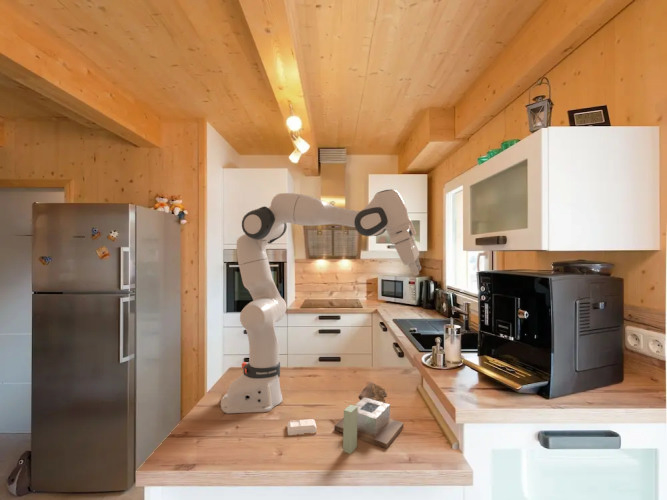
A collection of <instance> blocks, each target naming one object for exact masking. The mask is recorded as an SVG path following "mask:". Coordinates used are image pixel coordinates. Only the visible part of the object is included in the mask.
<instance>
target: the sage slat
mask: <svg viewBox="0 0 667 500" xmlns="http://www.w3.org/2000/svg"><path fill="white" fill-rule="evenodd" d="M357 415H358V407H357V406H355V404H354V405H353V404H349V405H348V406H347V407H346V408H345V409H343V418H344V425H343V433H342V434H343V435H342V452H343V453H347V454H349V455H351V454H352V453H353V452H354V451H355V449H357V447H358V438H357Z"/></svg>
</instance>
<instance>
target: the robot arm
mask: <svg viewBox="0 0 667 500" xmlns="http://www.w3.org/2000/svg"><path fill="white" fill-rule="evenodd" d="M287 223H288V224H294V225H299V226H303V227H306V226H307V227H315V226H316V227H317V226H325V225H340V226H346V227H349V228H355V230H356V231H357V233H359V234H360V235H361V236H365V237H378V236H380V235H382V234H384V233H385V232H387V236H388V237H389V241H390V242H391V245H394V248H395V250H396V252H397V254H398V256H399V258H400V260H401V262H402V264H404V266H408V268H409V269H410V270H411V272H412V275H413V276H415V277H416V276H418V275H419V274H420V271H421V270H422V266H421V264H420V259H419V256H420V252H419V251H420V250H419V249H418V246H417V244H416V242H415V241H416V238H415V236H416V235H417V234H418V233H417V232H416V229H415V226H414V224H413V221H412V219H411V218H410V216H409V215H408V208H407V206H406V203H405V202H404V200H403V198H402V196H401V194H400V193H399V192H398V190H396V189H392V188H391V189H384V190H381V191H378V192H376V193H375V194H374V196H373V198H372V200H371V201H370V202H369V203H368V204H367V205H366V206H365V207H364V208H362V209H361V210H354V209H349V208H343V207H339V206H336V205H332V204H331V203H329V202H326V201H324V200H321V199H320V198H317V197H314V196H310V195H308V194H302V193H294V192H293V193H292V192H291V193H290V192H289V193H288V192H284V193H278V194H275V196H273V198H272V200H271V202H270V206H269V207H268V206H262V207H259V208H257V209H253V210H250V211H249V212H247V213H246V214H245V215H244V216H243V217H242V220H241V229H242V231H243V233H244V234H243V235H240V237H239V238H237V240H236V257H237V263H238V268H239V273H240V276H241V281H242V284H243V286H244V288H245V289H246V290H248V293H249V294H250V296H251V298H252V301H250V302H249V303H247V304H246V305H245V306H244V307H243V309H242V310H241V311H240V314H239V320H240V324H241V326H242V327H243V328H244V329H245V330H246V335H247V338H248V344H249V345H248V346H249V347H248V349H249V350H248V351H249V353H248V355H249V356H248V357H249V359H248V360H249V361H248V363H247V362H246V361H243V362H242V363H241V368H242V372H243V373H242V374H241V375H240V376H239V377H237V378H236V379H235V380H233V381H232V382H231V383H230V385H229V387H228V390H227V393H226V394H225V395H224V396H222V398H221V400H220V409H221V410H222V412H224V413H225V414H247V413H265V412H270V411H271V410H272V409H273V408H274V407H276V406H278V405H279V404H281V403H282V401H283V400H284V399H283V395H282V390H281V386H280V385H281V384H280V376H281V362H280V342H279V341H280V340H279V339H278V338H277V334H276V331H275V330H276V329H275V325H276V323H277V322H279V321H281V320H282V318H283V317H284V316H285V314H286V312H287V310H288V309H287V306H288V305H287V303H286V301H285V299H284V298H283V297H282V296H281V294H280V292H279V290H278V288H277V286H276V283H275V280H274V278H273V274H272V270H271V265H270V261H269V257H268V252H267V245H268V244H272V243H273V242H275V241H277V240H278V239H280V238H281V237H282V236H284V235H285V234H286V231H287V228H288V226H287V225H288V224H287Z"/></svg>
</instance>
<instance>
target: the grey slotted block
mask: <svg viewBox="0 0 667 500" xmlns="http://www.w3.org/2000/svg"><path fill="white" fill-rule="evenodd" d="M354 406H357V407H358V415H357V430H358V431H360V432H363V433H366V434H369V435H372V436H375V437H376V436H377V435H378V433H379V432H380V431H381V430H382V429H383V428H384V427H385V426H386V424H387V423H388V422H389V421H390V419H391V416H390V414H391V413H390V412H391V408H390V407H391V404H390V403H386V402H385V403H383V402H379V401H376V400H372V399H369V398H365V397H364V398H363V399H360V401H358V402H357V403H356V404H354Z"/></svg>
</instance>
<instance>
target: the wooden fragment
mask: <svg viewBox="0 0 667 500" xmlns="http://www.w3.org/2000/svg"><path fill="white" fill-rule="evenodd" d="M387 396H388V393H387V392H386V391H385V388H383V387H381V386H380V385H377V384H376V383H374V382H372V381H369V383H367V385H365V387H364V388H363V390H362V391H361V393H360V394H359V396H358V398H360V400H362V399H363V398H364V397H365V398H369V399H372V400H376V401H379V402H383V403H386V399H385V397H387Z"/></svg>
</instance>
